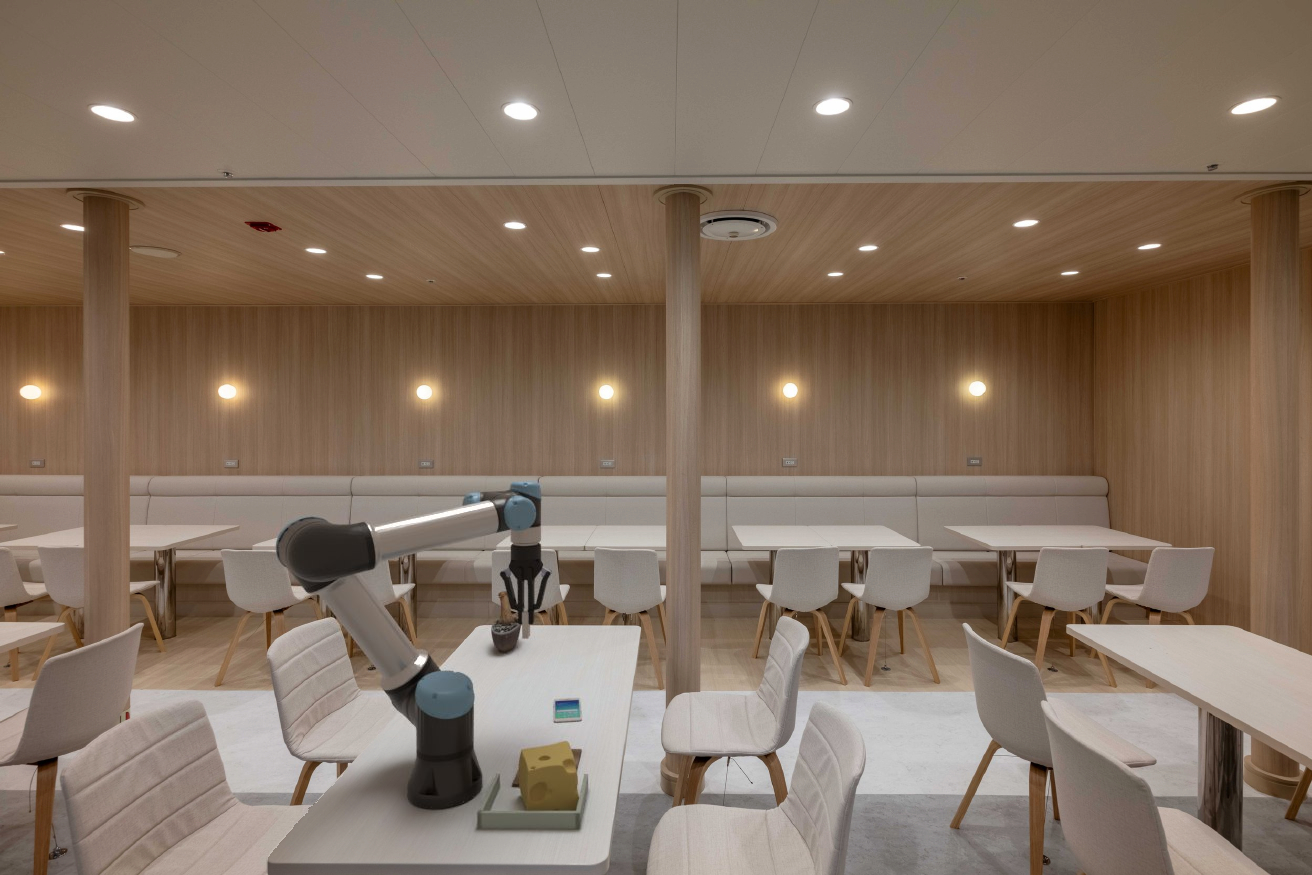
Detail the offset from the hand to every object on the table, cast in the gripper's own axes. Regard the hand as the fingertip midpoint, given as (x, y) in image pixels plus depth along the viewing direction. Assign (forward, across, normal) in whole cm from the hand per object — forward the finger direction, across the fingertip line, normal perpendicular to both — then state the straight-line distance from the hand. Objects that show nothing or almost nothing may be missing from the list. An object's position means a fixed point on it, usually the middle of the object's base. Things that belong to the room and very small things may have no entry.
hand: (526, 636), depth 169 cm
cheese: (+25, -11, +31) cm, 41 cm away
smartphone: (+25, -8, -14) cm, 30 cm away
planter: (+25, +20, -68) cm, 75 cm away
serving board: (+24, -8, +17) cm, 31 cm away
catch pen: (+24, -8, +33) cm, 42 cm away
